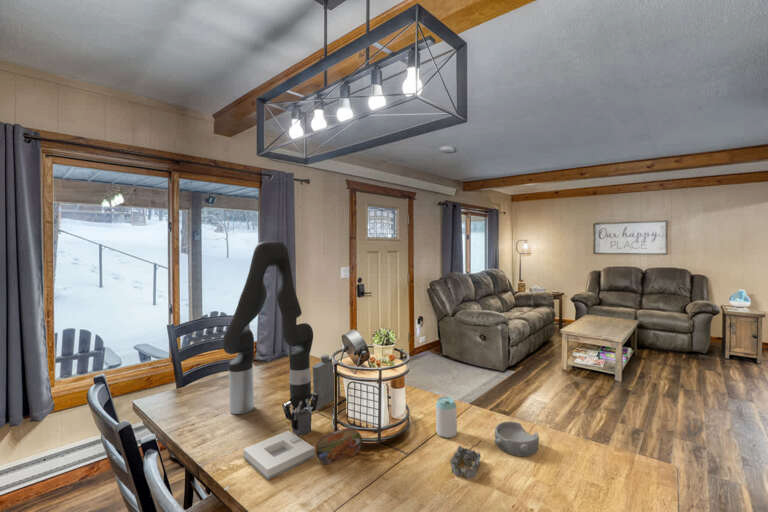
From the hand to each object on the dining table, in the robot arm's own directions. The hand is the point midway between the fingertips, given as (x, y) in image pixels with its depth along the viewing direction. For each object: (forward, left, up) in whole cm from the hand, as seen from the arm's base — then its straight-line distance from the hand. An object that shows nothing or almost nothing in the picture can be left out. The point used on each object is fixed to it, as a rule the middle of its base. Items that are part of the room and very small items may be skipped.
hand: (301, 426), depth 135 cm
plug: (0, 0, -2) cm, 2 cm away
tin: (+23, -1, -2) cm, 23 cm away
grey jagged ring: (+55, +22, -2) cm, 59 cm away
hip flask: (-14, +21, -2) cm, 25 cm away
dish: (+60, +43, -2) cm, 74 cm away
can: (+39, +34, -2) cm, 52 cm away
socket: (+9, -14, -2) cm, 17 cm away
